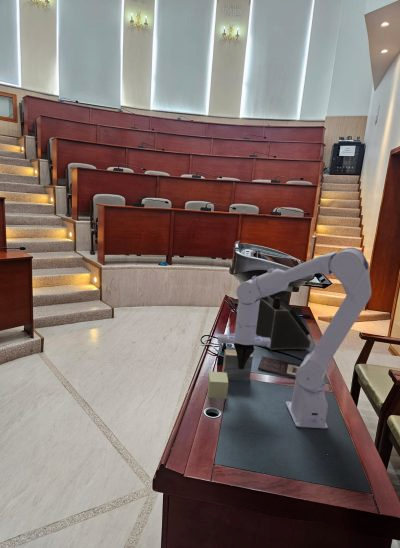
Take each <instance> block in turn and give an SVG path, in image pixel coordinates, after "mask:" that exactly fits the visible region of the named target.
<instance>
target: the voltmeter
mask: <svg viewBox="0 0 400 548" xmlns="http://www.w3.org/2000/svg"><path fill="white" fill-rule="evenodd" d="M281 299H282V297H280V296H274V297H273V298H272V297H271V295H270V296H267V297H261V298H260V304H259V312H258V320H257V327H256V334H255V335H256V336H260V337H266V338H270V340H271V345H270V347H267V348H268V350H269V349H271V350H285V349H286V350H288V349H289V350H290V349H292V350H293V349H298V350H299V351H304V350H305V349H310V348H311V345H312V344H311V343H312V342H311V340H310V338H309V337H308V336H309V335H310V334H311V333H310V331H309V330H308V328H307V327H306V325H305V324H304V323H303V321H302V320H301V318H300V316H299V315H298V314H297V313H296V312H295V310H294V309H293V308H292V307H291V306H289V305H287V303H285V302H284V301H282V300H281ZM271 350H270V351H271Z"/></svg>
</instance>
